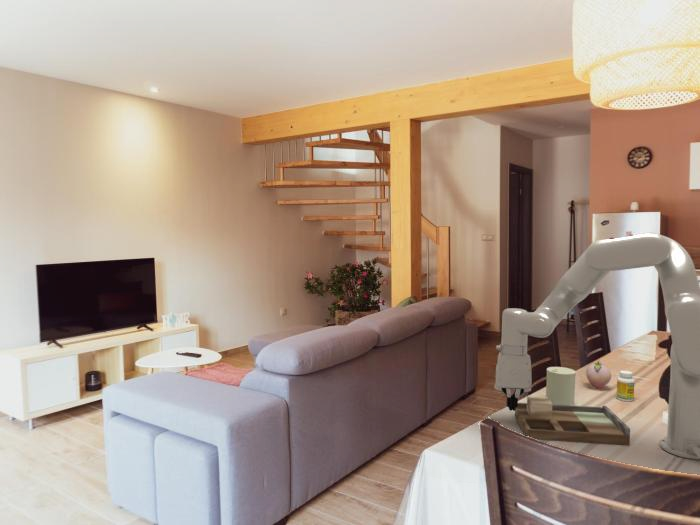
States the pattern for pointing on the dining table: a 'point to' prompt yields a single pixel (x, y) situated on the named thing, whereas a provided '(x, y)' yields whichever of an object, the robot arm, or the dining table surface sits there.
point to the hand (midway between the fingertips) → (511, 409)
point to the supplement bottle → (625, 386)
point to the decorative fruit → (598, 375)
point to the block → (539, 407)
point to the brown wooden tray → (575, 425)
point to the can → (560, 385)
